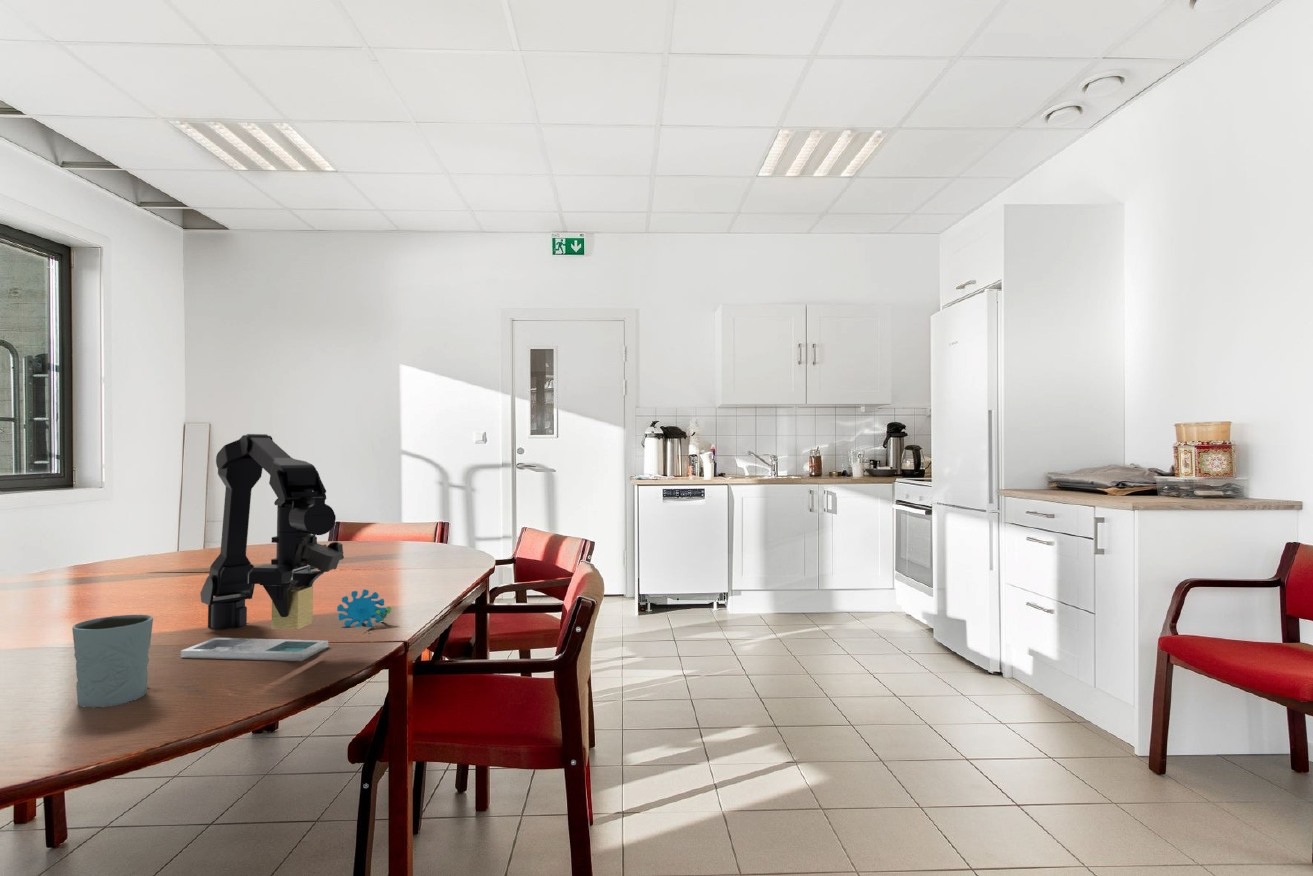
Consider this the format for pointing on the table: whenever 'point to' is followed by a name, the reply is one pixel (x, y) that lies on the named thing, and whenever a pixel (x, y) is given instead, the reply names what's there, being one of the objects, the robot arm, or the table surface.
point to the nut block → (295, 610)
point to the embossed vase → (112, 659)
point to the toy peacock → (363, 609)
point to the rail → (255, 649)
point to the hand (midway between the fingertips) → (292, 613)
